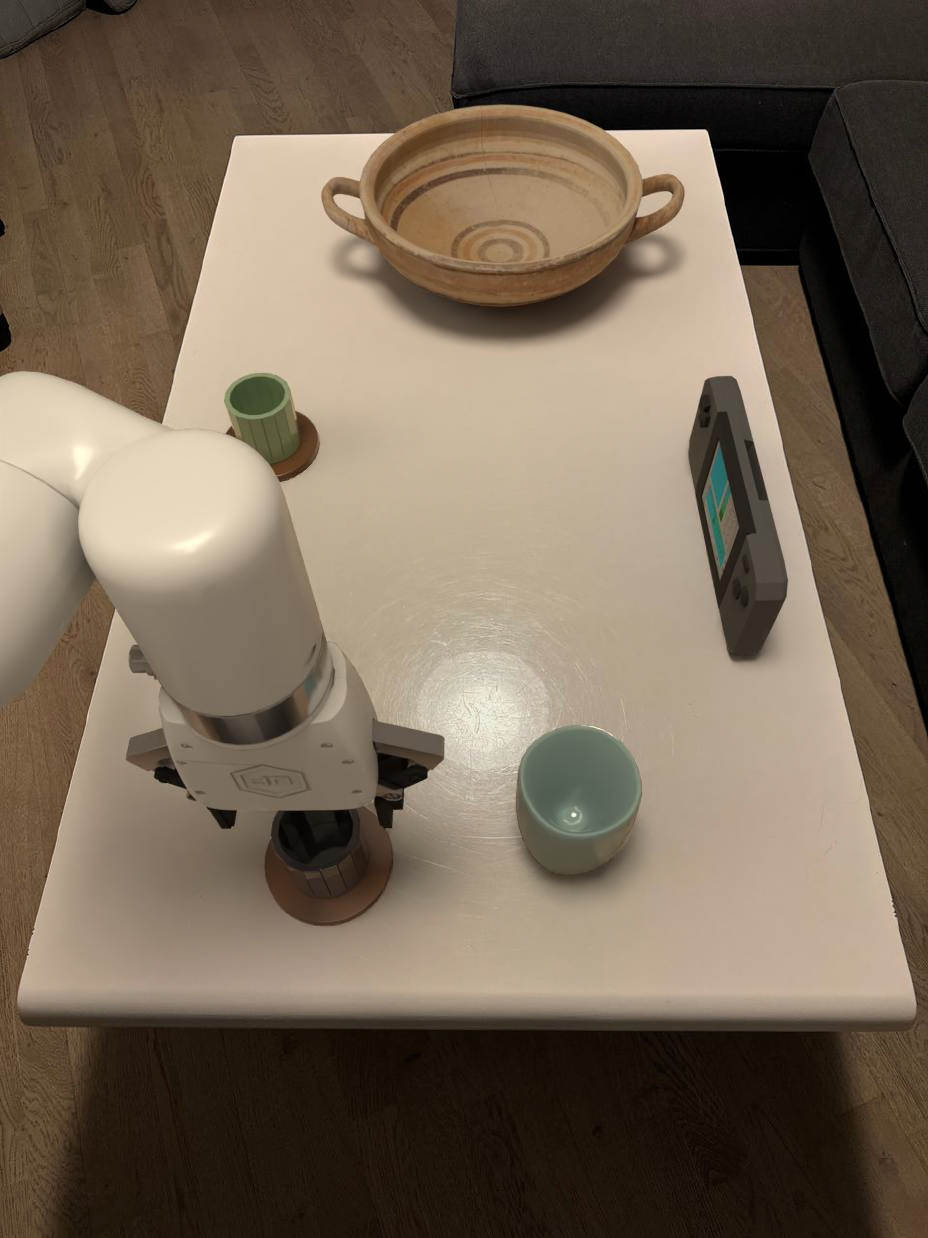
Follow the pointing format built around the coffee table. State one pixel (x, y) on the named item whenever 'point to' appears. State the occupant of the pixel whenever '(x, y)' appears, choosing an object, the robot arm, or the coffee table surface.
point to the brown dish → (302, 454)
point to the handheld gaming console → (736, 518)
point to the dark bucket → (321, 850)
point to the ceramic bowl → (501, 203)
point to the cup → (576, 798)
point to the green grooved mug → (264, 415)
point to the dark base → (342, 906)
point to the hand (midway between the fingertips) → (310, 805)
